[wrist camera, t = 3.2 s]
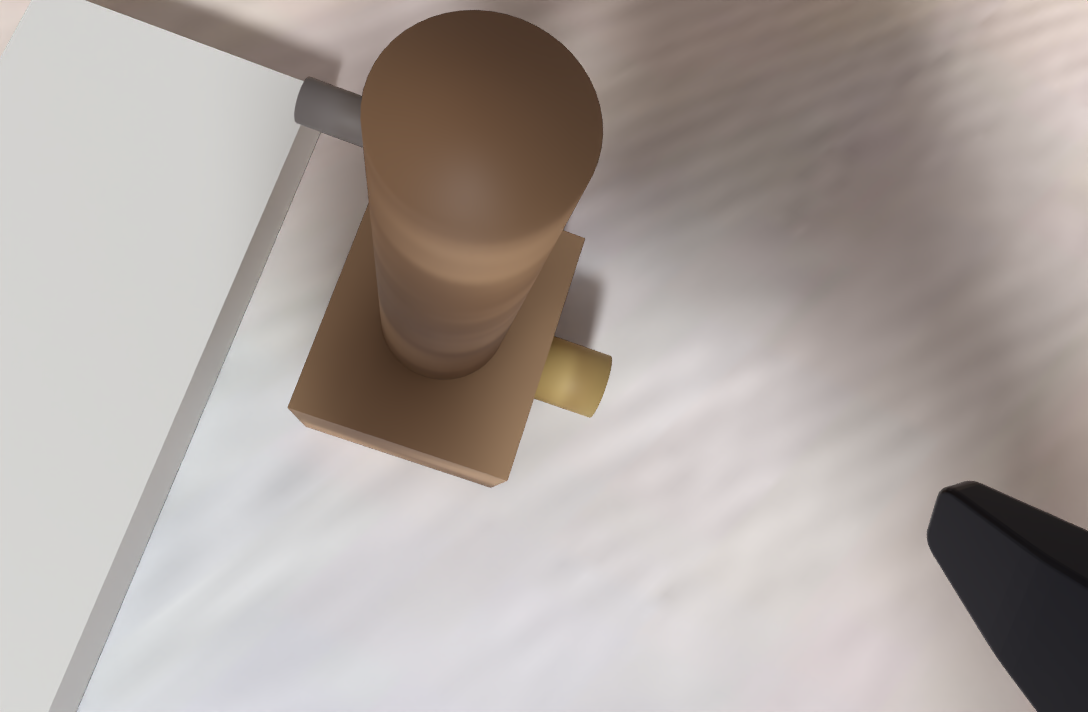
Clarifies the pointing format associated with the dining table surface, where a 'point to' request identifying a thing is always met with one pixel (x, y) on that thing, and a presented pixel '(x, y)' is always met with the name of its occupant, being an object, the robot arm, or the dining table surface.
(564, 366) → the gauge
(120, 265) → the board
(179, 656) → the dining table surface
